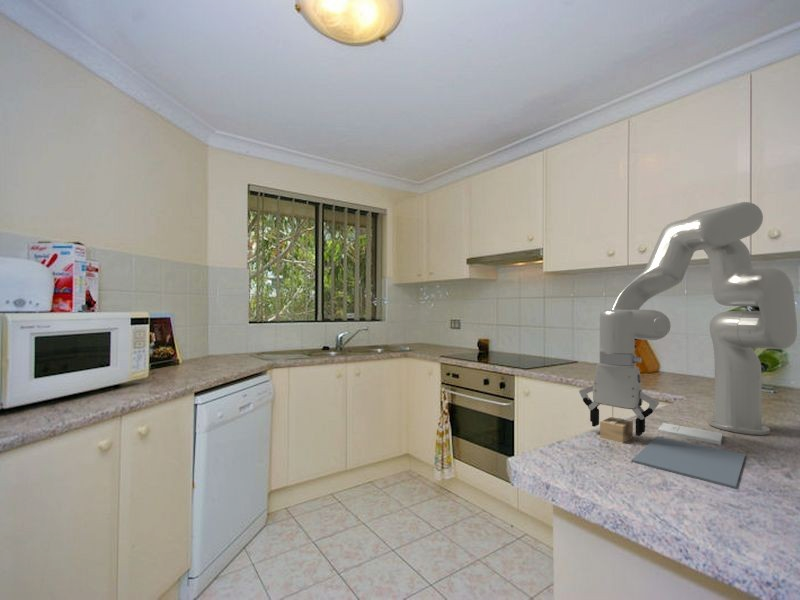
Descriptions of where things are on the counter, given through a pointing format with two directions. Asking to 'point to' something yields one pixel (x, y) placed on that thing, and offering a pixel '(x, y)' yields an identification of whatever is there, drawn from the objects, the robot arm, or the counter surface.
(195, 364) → the counter surface
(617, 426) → the taped cardboard box
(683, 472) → the mat
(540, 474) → the counter surface
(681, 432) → the external hard drive
